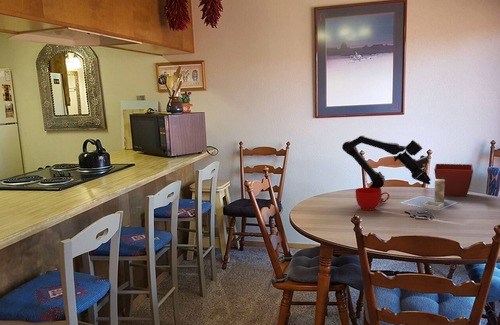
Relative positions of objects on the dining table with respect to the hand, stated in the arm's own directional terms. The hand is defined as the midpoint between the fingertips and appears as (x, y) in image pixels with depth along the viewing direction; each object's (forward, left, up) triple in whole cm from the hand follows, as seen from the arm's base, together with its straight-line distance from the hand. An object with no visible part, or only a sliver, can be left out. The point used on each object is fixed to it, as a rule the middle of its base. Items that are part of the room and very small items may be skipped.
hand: (429, 182), depth 209 cm
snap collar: (-8, -6, -10) cm, 14 cm away
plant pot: (+25, 0, -12) cm, 28 cm away
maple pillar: (+2, -4, -10) cm, 11 cm away
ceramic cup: (-30, +15, -12) cm, 35 cm away
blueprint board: (-3, -1, -11) cm, 12 cm away
